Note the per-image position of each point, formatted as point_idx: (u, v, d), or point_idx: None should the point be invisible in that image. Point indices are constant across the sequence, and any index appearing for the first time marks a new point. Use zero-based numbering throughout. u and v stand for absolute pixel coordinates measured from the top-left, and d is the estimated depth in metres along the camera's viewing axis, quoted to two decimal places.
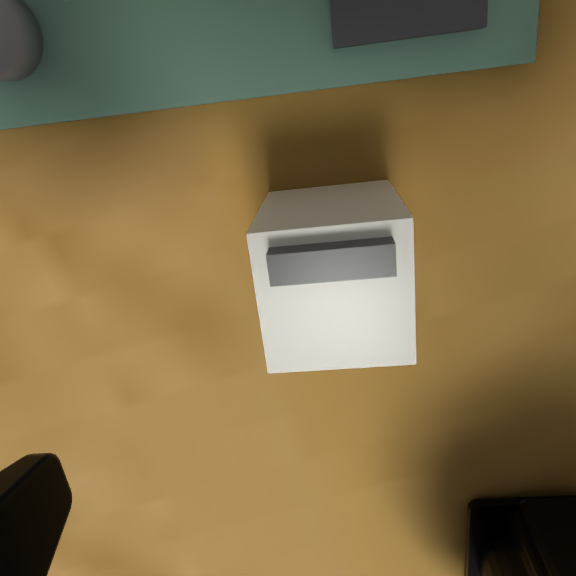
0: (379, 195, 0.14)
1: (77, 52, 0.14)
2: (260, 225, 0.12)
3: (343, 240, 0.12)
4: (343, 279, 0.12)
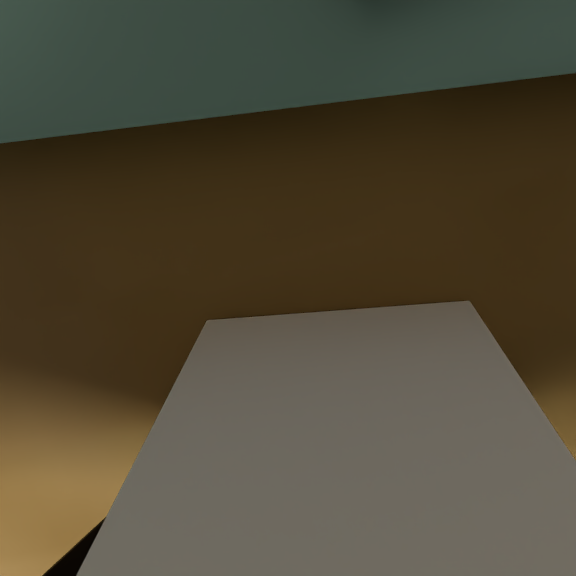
0: (476, 390, 0.05)
1: None
2: None
3: None
4: None
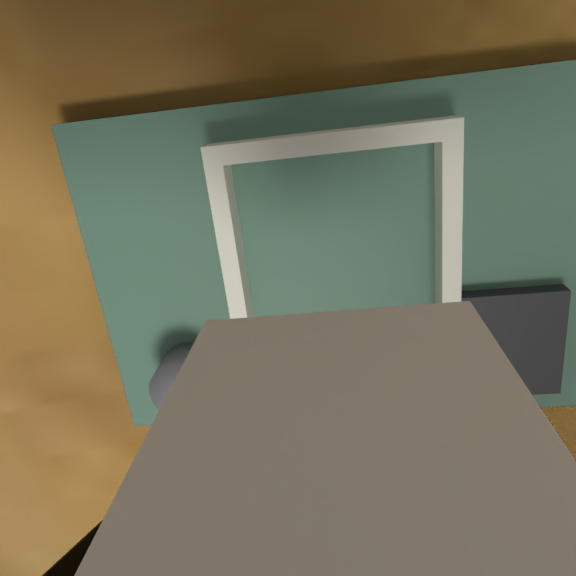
0: (476, 391, 0.05)
1: None
2: None
3: None
4: None
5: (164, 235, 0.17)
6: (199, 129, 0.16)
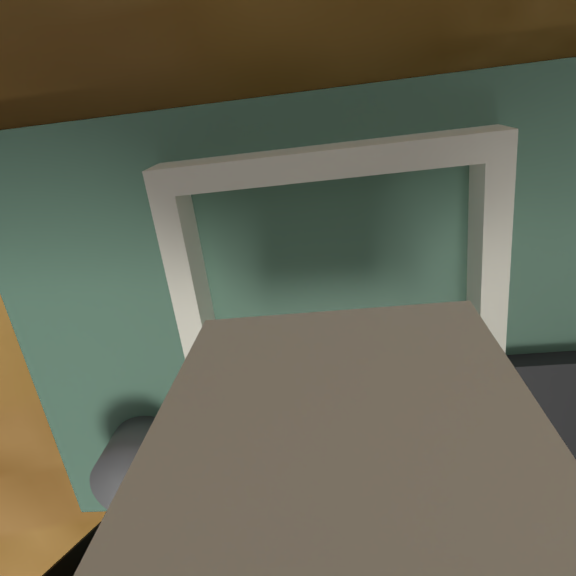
0: (477, 391, 0.05)
1: None
2: None
3: None
4: None
5: (105, 283, 0.13)
6: (145, 143, 0.11)
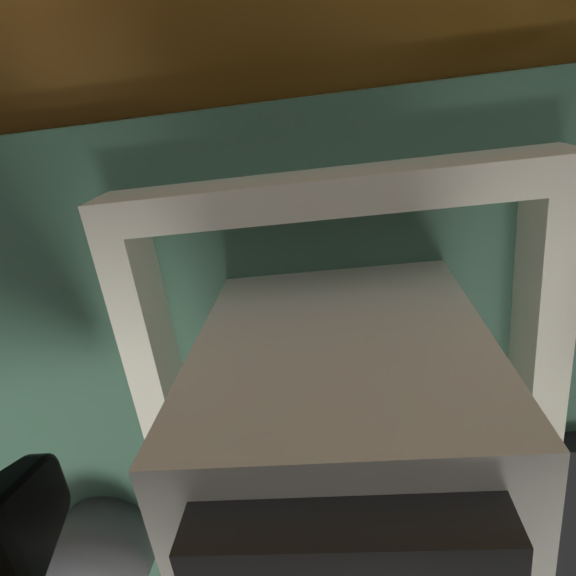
0: (440, 317, 0.07)
1: None
2: (174, 426, 0.05)
3: (378, 494, 0.05)
4: None
5: (47, 340, 0.10)
6: (88, 165, 0.09)
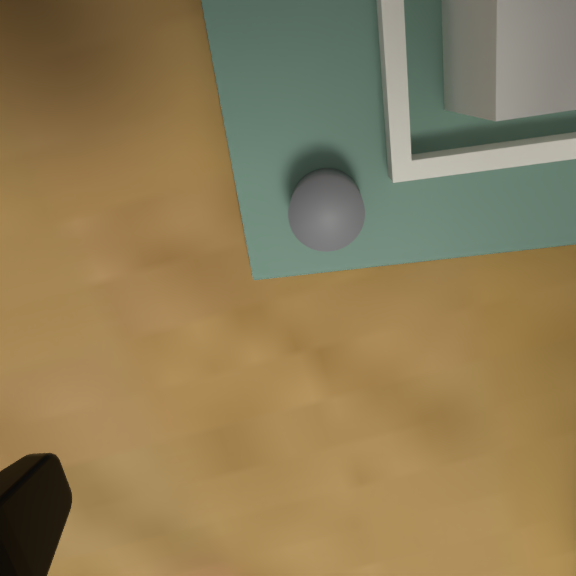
0: None
1: (389, 215, 0.17)
2: None
3: None
4: None
5: (305, 25, 0.15)
6: None
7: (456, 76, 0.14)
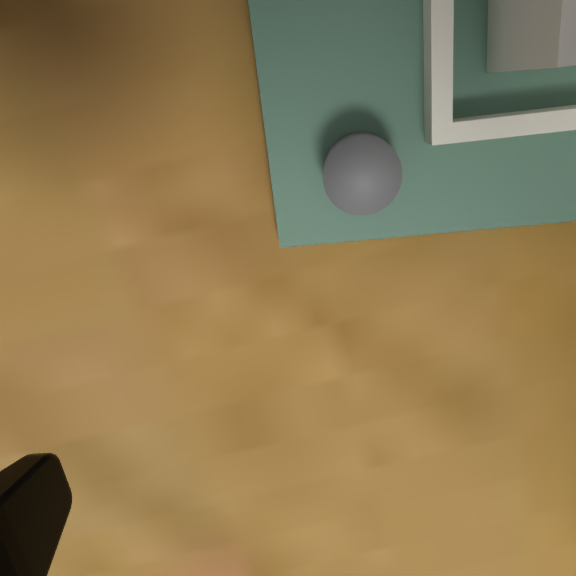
0: None
1: (423, 182, 0.16)
2: None
3: None
4: None
5: None
6: None
7: (505, 33, 0.13)
